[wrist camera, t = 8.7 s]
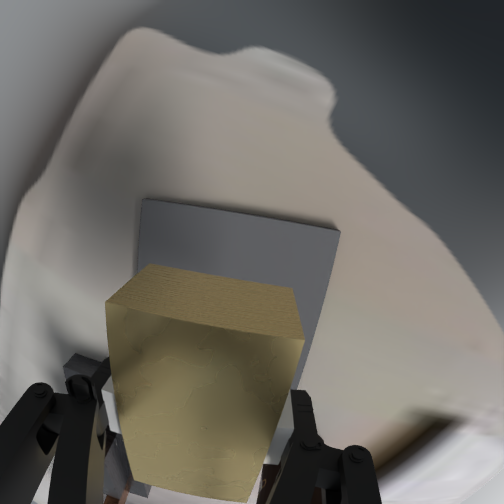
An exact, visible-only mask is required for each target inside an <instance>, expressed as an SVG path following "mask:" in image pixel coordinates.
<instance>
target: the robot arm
mask: <svg viewBox="0 0 504 504" xmlns="http://www.w3.org/2000/svg"><path fill="white" fill-rule="evenodd" d="M65 383H66V387H67V391H68V394H61V393H54V392H53V389H52V388H51V386H50V385H48V384H46V383H42V382H41V383H35V384H32V385H31V386H30V387H29V388H28V389H27V391H26V392H25V393H24V394H23V396H22V397H21V398H20V400H19V401H18V402H17V403H16V405H15V406H14V407H13V409H12V410H11V411H10V413H9V414H8V415H7V417H6V418H5V420H4V421H3V422H2V424H1V425H0V504H31V502H32V500H33V498H34V495H35V493H36V491H37V489H38V487H39V485H40V483H41V481H42V479H43V476H44V474H45V472H46V470H47V468H48V466H49V464H50V462H51V460H52V459H53V457H54V455H55V458H54V463H53V469H52V475H51V481H50V488H49V496H48V504H103V485H104V462H105V447H106V431H105V429H106V427H107V425H108V424H109V427H110V430H111V431H113V432H116V433H119V434H122V431H121V427H120V422H119V417H118V411H117V406H116V400H115V394H114V388H113V381H112V374H111V366H110V358H109V357H108V358H106V359H105V360H104V361H103V362H102V363H101V365H100V366H99V367H98V369H97V371H95V373H94V374H93V375H92V377H91V378H90V377H89V376H86V375H83V374H76V375H73V376H71V377H69V378H68V379H67V380H66V382H65ZM280 460H281V468H280V470H279V472H278V474H277V476H276V478H275V479H276V480H275V483H274V485H273V487H272V490H271V492H270V495H269V497H268V499H267V502H266V504H310V502H311V499H312V496H313V492H314V488H315V487H319V488H321V491H322V504H382V502H381V497H380V492H379V487H378V482H377V478H376V473H375V469H374V464H373V460H372V456H371V454H370V452H369V451H368V450H367V449H366V448H364V447H362V446H358V445H352V446H348V447H347V448H345V449H344V450H340V449H336V448H332V447H329V446H327V445H326V444H324V442H323V440H322V439H321V438H319V437H318V434H317V429H316V423H315V417H314V413H313V407H312V401H311V397H310V396H309V395H308V393H307V392H306V391H305V390H293V389H290V390H289V393H288V396H287V399H286V402H285V405H284V408H283V411H282V414H281V417H280V419H279V422H278V425H277V428H276V431H275V433H274V436H273V439H272V441H271V444H270V447H269V449H268V452H267V455H266V457H265V460H264V462H263V464H275V465H278V464H279V462H280Z"/></svg>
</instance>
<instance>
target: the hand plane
mask: <svg viewBox="0 0 504 504" xmlns="http://www.w3.org/2000/svg"><path fill="white" fill-rule="evenodd" d="M100 365H101V362H98V361H95V360H92V359H89V358H87V357H84V356H81V355H78V354H76V353H75V354H74V355H73V356H72V357H71V358H70V360H69V361H68V362H67V363H66V364H65V365H64V366H63V368H64V373H65V377H66V380H67V379H68V378H69V377H71V376H73V375H76V374H83V375H86V376H89V377H90V378H91V377H92V375H93V374H94V373H95V371H97V369H98V367H99V366H100ZM105 431H106V447H105V462H104V485H103V493H104V494H106V495H107V496H106V499H105V501H104V504H125V501H126V499H127V496H128V493H129V492H130V493H133V494H136V495H140V496H143V497H146V498H148V495H149V492H150V489H151V486H152V485H149V484H145V483H142V482H139V481H136V480H134V478H133V475H132V471H131V468H130V464H129V460H128V457H127V453H126V449H125V444H124V440H123V436H122V434H119V433H116V432H113V431H111V430H110V427H109V424H108V425H107V427H106V429H105Z"/></svg>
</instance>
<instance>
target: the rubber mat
mask: <svg viewBox="0 0 504 504" xmlns="http://www.w3.org/2000/svg"><path fill="white" fill-rule="evenodd" d="M340 233H341V232H340V231H339V230H335V229H330V228H325V227H320V226H314V225H309V224H304V223H298V222H293V221H287V220H281V219H276V218H270V217H264V216H258V215H252V214H246V213H240V212H234V211H228V210H222V209H215V208H209V207H202V206H195V205H189V204H182V203H175V202H168V201H160V200H153V199H142V208H141V219H140V232H139V247H138V268H137V274H138V273H139V272H140V271H141V270H142V269H143V268H145V267H146V266H147V265H148V264H149V263H151V264H156V265H161V266H166V267H172V268H177V269H182V270H188V271H193V272H199V273H205V274H210V275H216V276H222V277H227V278H233V279H239V280H245V281H251V282H257V283H263V284H269V285H276V286H282V287H288V288H292V289H293V293H294V297H295V301H296V305H297V309H298V313H299V317H300V321H301V325H302V329H303V334H304V338H305V342H304V345H303V349H302V352H301V355H300V359H299V362H298V365H297V368H296V372H295V375H294V378H293V381H292V384H291V387H290V389H293V390H297V387H298V384H299V381H300V378H301V375H302V372H303V369H304V366H305V363H306V360H307V356H308V353H309V350H310V347H311V344H312V340H313V337H314V334H315V330H316V327H317V323H318V320H319V316H320V313H321V309H322V306H323V302H324V298H325V295H326V291H327V287H328V283H329V279H330V275H331V271H332V267H333V263H334V259H335V255H336V251H337V247H338V242H339V238H340Z"/></svg>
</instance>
